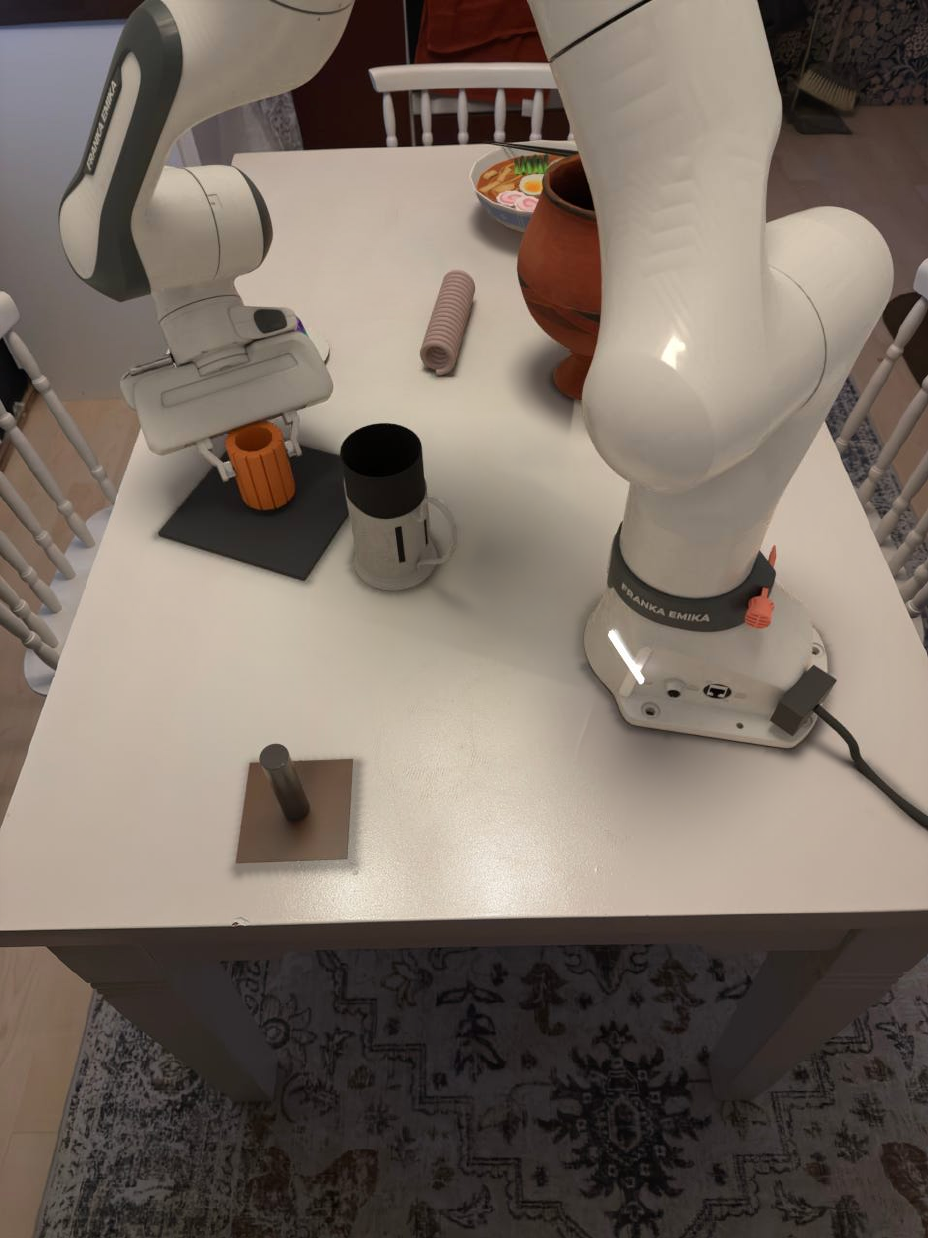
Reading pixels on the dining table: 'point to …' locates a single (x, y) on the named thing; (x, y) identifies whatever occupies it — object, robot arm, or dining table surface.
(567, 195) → the goblet
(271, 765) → the stake stand
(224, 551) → the mat
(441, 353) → the coil
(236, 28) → the robot arm
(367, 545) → the glass holder
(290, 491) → the orange grooved hollow cylinder
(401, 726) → the dining table surface
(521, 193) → the ramen bowl
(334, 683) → the dining table surface
